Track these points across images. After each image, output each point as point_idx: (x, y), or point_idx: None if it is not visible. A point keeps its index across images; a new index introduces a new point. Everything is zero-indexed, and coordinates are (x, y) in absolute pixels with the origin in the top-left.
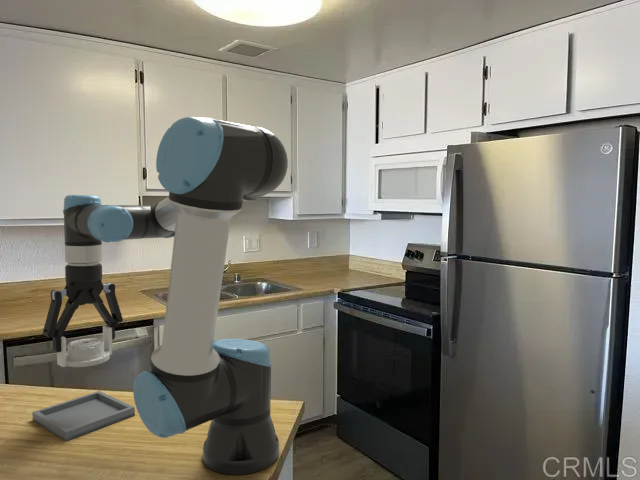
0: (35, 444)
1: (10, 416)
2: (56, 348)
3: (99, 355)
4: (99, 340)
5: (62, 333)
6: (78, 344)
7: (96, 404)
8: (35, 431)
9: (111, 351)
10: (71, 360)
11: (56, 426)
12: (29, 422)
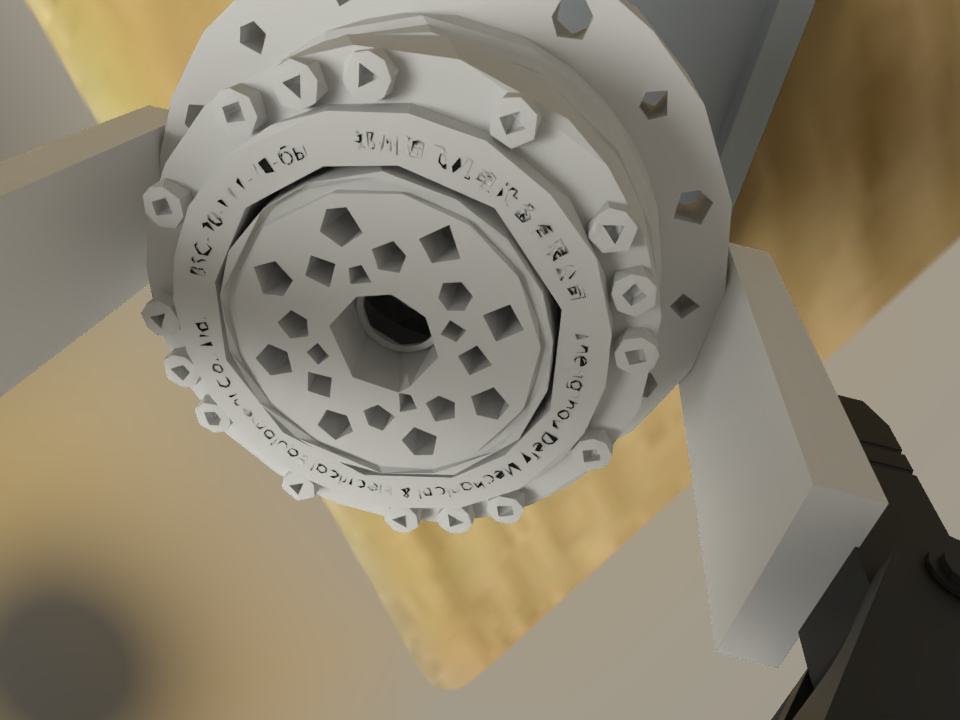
0: (912, 87)
1: (664, 481)
2: (889, 443)
3: (380, 18)
4: (192, 237)
5: (909, 589)
6: (524, 348)
7: None
8: (762, 238)
9: (133, 117)
10: (674, 246)
11: (781, 85)
12: None
